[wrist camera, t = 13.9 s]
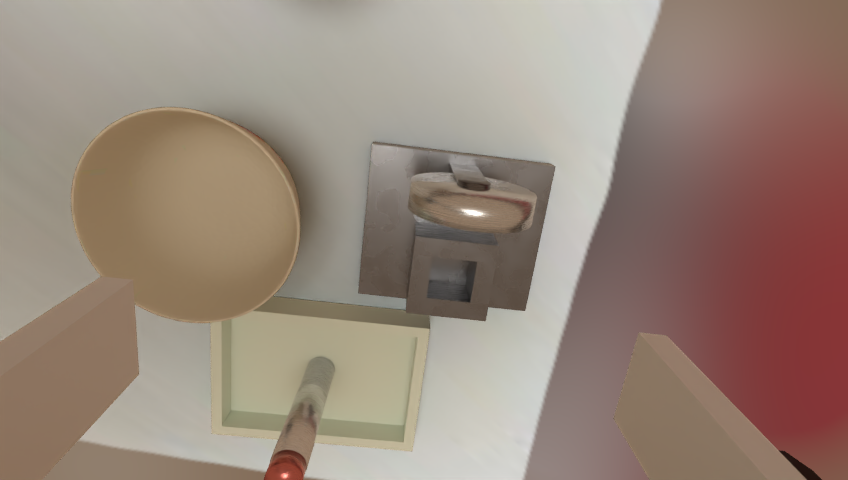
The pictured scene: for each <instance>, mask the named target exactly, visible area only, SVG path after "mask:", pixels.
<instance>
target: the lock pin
mask: <svg viewBox="0 0 848 480" xmlns="http://www.w3.org/2000/svg"><path fill="white" fill-rule="evenodd" d="M334 373H335V366H334V364H333V362H332V361H331V360H330V359H328V358H326V357H315V358H313V359H311V360H310V361H309V363H308V365H307V367H306V370H305V373H304V375H303V378H302V380H301V383H300V385H299V388H298V391H297V393H296V396H295V398H294V401H293V403H292V406H291V408H290V411H289V414H288V416H287V419H286V421H285V424H284V426H283V429H282V432H281V434H280V437H279V439H278V442H277V444H276V447H275V449H274V452H273V455H272V457H271V460H270V464H269V467H268V469H267V472H266V474H265V477H264V480H303V478H304V474H305V472H306V470H307V466H308V463H309V459H310V456H311V452H312V449H313V446H314V442H315V439H316V435H317V432H318V428H319V425H320V421H321V418H322V414H323V411H324V407H325V404H326V400H327V397H328V393H329V390H330V386H331V383H332V380H333V376H334Z"/></svg>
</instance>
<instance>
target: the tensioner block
mask: <svg viewBox="0 0 848 480" xmlns="http://www.w3.org/2000/svg"><path fill="white" fill-rule="evenodd" d="M554 171H555V166H554V165H552V164H549V163H541V162H533V161H525V160H517V159H509V158H501V157H493V156H485V155H477V154H469V153H461V152H453V151H445V150H437V149H429V148H420V147H412V146H404V145H396V144H388V143H380V142H373V143H372V149H371V160H370V171H369V182H368V193H367V203H366V214H365V225H364V236H363V247H362V258H361V269H360V280H359V291H358V293H360V294H370V295H379V296H389V297H398V298H406V313H412V314H422V315H431V316H441V317H451V318H460V319H470V320H479V321H486V316H487V310H488V307H493V308H502V309H512V310H521V311H525V309H526V304H527V299H528V295H529V290H530V285H531V280H532V276H533V271H534V266H535V261H536V257H537V252H538V247H539V242H540V238H541V233H542V228H543V223H544V219H545V214H546V209H547V204H548V199H549V195H550V190H551V185H552V180H553V176H554Z"/></svg>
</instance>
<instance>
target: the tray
mask: <svg viewBox="0 0 848 480" xmlns="http://www.w3.org/2000/svg"><path fill="white" fill-rule="evenodd" d="M210 330H211V423H212V434H220V435H231V436H243V437H254V438H266V439H277V440H278V439H279V437H280V434H281V432H282V429H283V426H284V424H285V421H286V419H287V416H288V414H289V411H290V408H291V406H292V403H293V401H294V398H295V396H296V393H297V391H298V388H299V385H300V383H301V380H302V378H303V375H304V373H305V370H306V367H307V365H308V363H309V361H310V360H311V359H313V358H315V357H326V358H328V359H330V360H331V361H332V362H333V364H334V366H335V373H334V376H333V380H332V383H331V386H330V390H329V393H328V397H327V400H326V404H325V407H324V411H323V414H322V418H321V421H320V425H319V428H318V432H317V435H316V439H315V442H314V443H323V444H334V445H346V446H357V447H368V448H380V449H391V450H403V451H412V449H413V442H414V436H415V429H416V422H417V415H418V408H419V401H420V394H421V387H422V380H423V374H424V367H425V360H426V353H427V346H428V339H429V332H430V322H429V315H422V314H412V313H406V310H397V309H388V308H378V307H369V306H359V305H350V304H340V303H330V302H321V301H311V300H302V299H292V298H282V297H273V296H272V297H271V298H270V299H269V300H268V301H266V302H265V303H264V304H262V305H261V306H260V307H258V308H256V309H255V310H253V311H251V312H249V313H247V314H245V315H242V316H240V317H237V318H233V319H230V320H226V321H220V322H212V323H210Z"/></svg>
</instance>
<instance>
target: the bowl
mask: <svg viewBox="0 0 848 480" xmlns="http://www.w3.org/2000/svg"><path fill="white" fill-rule="evenodd" d="M71 211H72V217H73V222H74V226H75V230H76V233H77V236H78V239H79V241H80V243H81V246H82V248H83V250H84V252H85V254H86V255H87V257H88V259H89V260H90V262H91V264H92V265H93V266H94V268H95V269H96V270H97V272H98V273H99V274H100V275H101V277H112V278H121V279H131V280H133V287H134V302H135V304H136V305H137V306H139V307H141V308H143V309H145V310H147V311H149V312H151V313H154V314H156V315H159V316H162V317H165V318H169V319H173V320H177V321H183V322H191V323H212V322H220V321H226V320H230V319H233V318H237V317H240V316H242V315H245V314H247V313H249V312H251V311H253V310H255V309H256V308H258V307H260V306H261V305H262V304H264V303H265V302H266V301H268V300H269V299H270V298H271V297H272V296H273V295H274V294H275V293H276V292H277V291H278V290H279V289H280V288H281V286H282V285H283V284H284V282H285V281H286V279H287V277H288V276H289V274H290V272H291V270H292V268H293V265H294V263H295V260H296V257H297V253H298V248H299V243H300V228H301V220H300V204H299V198H298V194H297V190H296V187H295V184H294V181H293V179H292V177H291V175H290V172H289V171H288V169H287V167H286V166H285V164H284V163H283V161H282V160H281V158H280V157H279V156H278V155H277V153H276V152H275V151H274V150H273V149H272V148H271V147H270V146H269V145H268V144H267V143H266V142H264V141H263V140H262V139H261V138H260V137H258V136H257V135H255V134H254V133H252V132H251V131H249V130H247V129H245V128H243V127H241V126H239V125H237V124H235V123H233V122H231V121H228V120H226V119H223V118H221V117H218V116H215V115H213V114H210V113H206V112H202V111H198V110H193V109H188V108H178V107H160V108H151V109H146V110H142V111H138V112H135V113H132V114H129V115H127V116H124V117H123V118H121V119H119V120H117V121H115V122H113V123H112V124H110V125H109V126H107V127H106V128H105V129H104V130H102V131H101V132H100V133H99V134H98V135H97V136H96V137H95V138H94V139H93V140H92V141H91V143H90V144H89V145H88V147H87V148H86V150H85V151H84V153H83V155H82V157H81V158H80V160H79V163H78V165H77V168H76V171H75V174H74V177H73V183H72V189H71Z"/></svg>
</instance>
